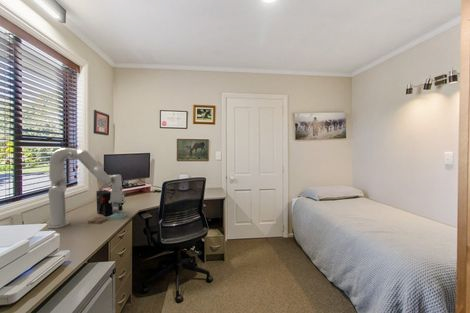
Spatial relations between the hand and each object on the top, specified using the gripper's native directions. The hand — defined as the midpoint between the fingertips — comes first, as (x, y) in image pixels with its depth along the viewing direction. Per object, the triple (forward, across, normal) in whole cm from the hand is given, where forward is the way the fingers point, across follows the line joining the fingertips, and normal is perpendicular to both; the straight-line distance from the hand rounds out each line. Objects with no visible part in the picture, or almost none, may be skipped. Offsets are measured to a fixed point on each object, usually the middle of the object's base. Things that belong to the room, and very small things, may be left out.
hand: (117, 210), depth 197 cm
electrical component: (+6, +16, -9) cm, 19 cm away
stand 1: (+6, +10, +11) cm, 16 cm away
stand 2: (+6, 0, 0) cm, 6 cm away
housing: (+1, 0, 0) cm, 1 cm away
